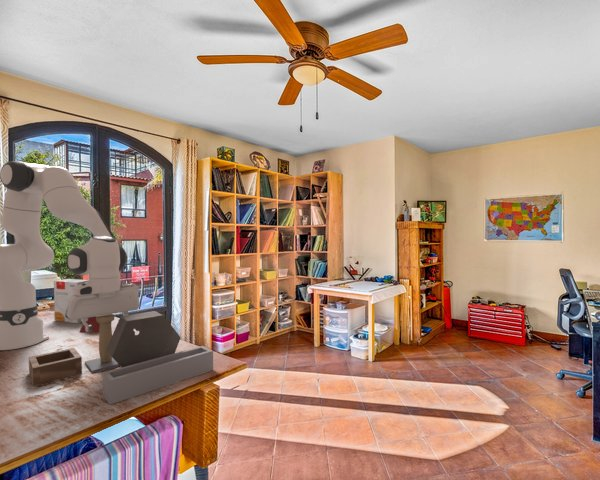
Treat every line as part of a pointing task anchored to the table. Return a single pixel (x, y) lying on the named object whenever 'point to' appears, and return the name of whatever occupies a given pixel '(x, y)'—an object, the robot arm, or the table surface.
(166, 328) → the planter
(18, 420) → the table surface
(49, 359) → the block
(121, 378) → the tray
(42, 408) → the table surface
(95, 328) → the red drawstring pouch
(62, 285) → the hard drive box
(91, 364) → the mat
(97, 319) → the handle
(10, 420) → the table surface
